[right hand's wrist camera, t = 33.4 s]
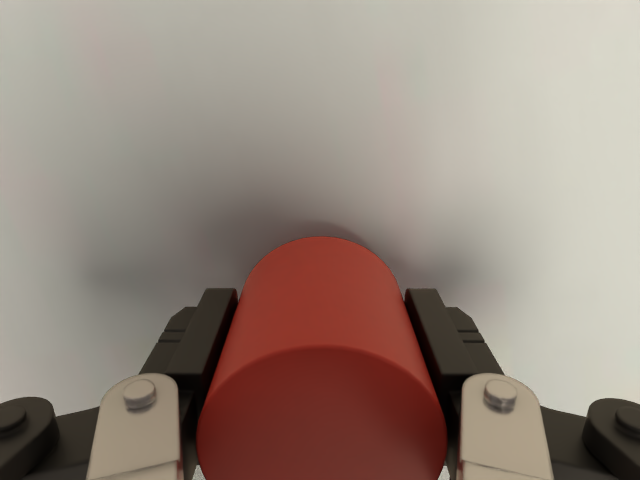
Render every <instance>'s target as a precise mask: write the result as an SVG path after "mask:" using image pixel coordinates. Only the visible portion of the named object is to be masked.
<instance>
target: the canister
mask: <svg viewBox="0 0 640 480" xmlns="http://www.w3.org/2000/svg"><path fill="white" fill-rule="evenodd" d="M447 444H448V436H447V427H446V423H445V419H444V415H443V412H442V409H441V406H440V403H439V401H438V398H437V395H436V392H435V389H434V386H433V383H432V381H431V378H430V375H429V372H428V369H427V366H426V363H425V361H424V358H423V355H422V352H421V349H420V346H419V343H418V341H417V338H416V335H415V332H414V329H413V326H412V323H411V321H410V318H409V315H408V312H407V309H406V306H405V303H404V301H403V298H402V295H401V292H400V289H399V286H398V284H397V282H396V279H395V277H394V276H393V274H392V272H391V271H390V269H389V268H388V267H387V266H386V264H385V263H384V262H383V261H382V260H381V259H380V258H379V257H378V256H376V255H375V254H374V253H372V252H371V251H369V250H368V249H366V248H365V247H363V246H361V245H359V244H357V243H354V242H351V241H348V240H345V239H340V238H336V237H325V236H321V237H308V238H301V239H298V240H294V241H291V242H289V243H286V244H284V245H281V246H280V247H278V248H276V249H274V250H273V251H271V252H270V253H269V254H267V255H266V256H265V257H263V258H262V259H261V260H260V262H259V263H258V264H257V265H256V266H255V267H254V269H253V270H252V271H251V273H250V274H249V276H248V278H247V280H246V282H245V285H244V287H243V290H242V293H241V296H240V299H239V302H238V305H237V308H236V311H235V314H234V317H233V320H232V323H231V326H230V329H229V332H228V334H227V337H226V340H225V343H224V346H223V349H222V352H221V355H220V358H219V361H218V364H217V367H216V370H215V373H214V376H213V379H212V382H211V385H210V388H209V391H208V393H207V396H206V399H205V402H204V405H203V408H202V411H201V414H200V417H199V420H198V425H197V431H196V450H197V456H198V461H199V464H200V467H201V470H202V473H203V475H204V477H205V479H206V480H438V478H439V476H440V473H441V471H442V469H443V466H444V462H445V458H446V454H447Z"/></svg>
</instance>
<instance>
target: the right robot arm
mask: <svg viewBox="0 0 640 480" xmlns="http://www.w3.org/2000/svg"><path fill="white" fill-rule="evenodd" d="M404 303H405V306H406V309H407V312H408V315H409V318H410V321H411V323H412V326H413V329H414V332H415V335H416V338H417V341H418V343H419V346H420V349H421V352H422V355H423V358H424V361H425V363H426V366H427V369H428V372H429V375H430V378H431V381H432V383H433V386H434V389H435V392H436V395H437V398H438V401H439V403H440V406H441V409H442V412H443V415H444V419H445V423H446V427H447V436H448V444H447V454H446V458H445V462H444V466H447V468H448V471H449V475H450V479H449V480H640V404H637V403H634V402H631V401H627V400H622V399H615V398H605V399H600V400H597V401H595V402H593V403H592V404H591V405H590V406H589V409H588V413H587V417H584V416H579V415H574V414H570V413H565V412H561V411H556V410H553V409H549V408H546V407H543V406H540V404H539V401H538V398H537V397H536V395H535V394H534V393H533V391H532V390H531V389H529V388H528V387H527V386H526V385H524V384H523V383H521V382H519V381H517V380H515V379H513V378H511V377H508V376H505V375H504V373H503V371H502V369H501V368H500V366H499V364H498V363H497V361H496V359H495V358H494V356H493V354H492V352H491V351H490V349H489V347H488V346H487V344H486V343H485V342H484V339H483V337H482V335H481V334H480V333H479V332H478V329H477V327H476V325H475V323H474V322H473V320H472V318H471V317H469V316H468V315H467V314H465V313H464V312H463V311H461V310H460V309H459V308H457V307H445V305H444V303H443V301H442V300H441V298H440V296H439V294H438V292H437V290H436V289H407V290H406V293H405V300H404ZM237 305H238V296H237V291H236V289H235V288H207V289H206V290H205V292H204V294H203V296H202V298H201V300H200V302H199V304H198V306H197V307H185V308H184V309H182V310H181V311H180V312H178V313H177V314H175V315H174V316H173V317H171V319H170V321H169V323H168V324H167V326H166V328H165V330H164V332H163V333H162V335H161V336H160V338H159V340H158V343H156V345H155V347H154V349H153V350H152V352H151V354H150V355H149V357H148V359H147V361H146V362H145V364H144V366H143V368H142V369H141V371H140V373H139V375H135V376H132V377H129V378H127V379H125V380H123V381H121V382H119V383H117V384H116V385H114V386H113V387H112V388H111V389H109V390H108V391H107V393H106V394H105V395H104V397H103V398H102V401H101V404H100V406H99V407H96V408H92V409H89V410H84V411H80V412H75V413H71V414H66V415H62V416H57V417H56V416H55V413H54V409H53V406H52V404H51V403H50V402H49V401H48V400H46V399H43V398H39V397H23V398H18V399H13V400H10V401H7V402H4V403H1V404H0V480H192V478H193V475H194V472H195V468H196V465H200V464H199V461H198V456H197V450H196V431H197V425H198V420H199V417H200V414H201V411H202V408H203V405H204V402H205V399H206V396H207V393H208V391H209V388H210V385H211V382H212V379H213V376H214V373H215V370H216V367H217V364H218V361H219V358H220V355H221V352H222V349H223V346H224V343H225V340H226V337H227V334H228V332H229V329H230V326H231V323H232V320H233V317H234V314H235V311H236V308H237Z"/></svg>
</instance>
